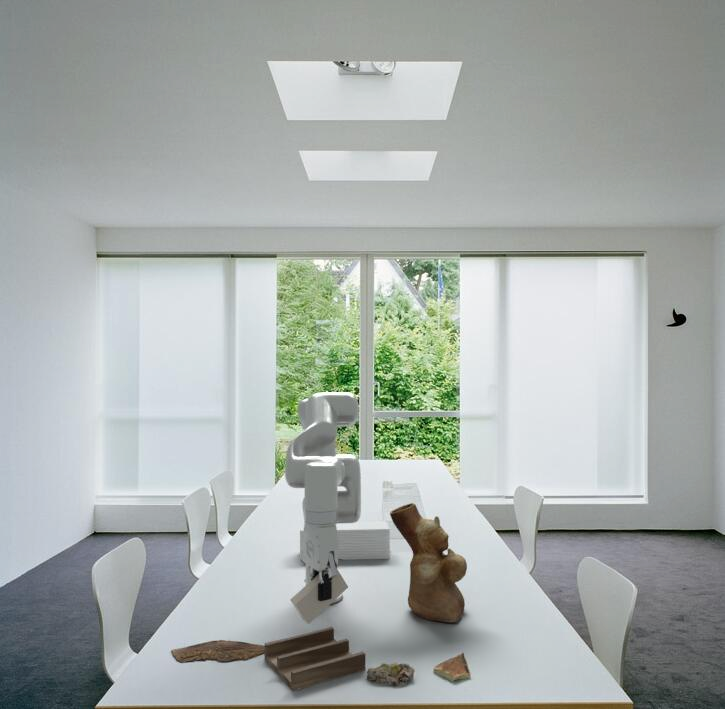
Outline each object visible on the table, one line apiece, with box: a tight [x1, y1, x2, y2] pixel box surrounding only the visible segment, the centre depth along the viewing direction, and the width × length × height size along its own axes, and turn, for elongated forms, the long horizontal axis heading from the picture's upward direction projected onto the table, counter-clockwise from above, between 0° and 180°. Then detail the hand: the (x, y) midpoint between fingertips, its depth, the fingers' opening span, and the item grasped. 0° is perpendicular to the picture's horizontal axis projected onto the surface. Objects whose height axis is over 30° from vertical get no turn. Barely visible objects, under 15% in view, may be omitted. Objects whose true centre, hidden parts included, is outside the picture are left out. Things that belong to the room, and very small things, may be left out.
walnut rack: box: [264, 626, 366, 691], centre depth 146 cm, size 17×18×4 cm
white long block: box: [299, 521, 391, 561], centre depth 229 cm, size 32×11×11 cm, turn 93°
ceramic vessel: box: [389, 502, 468, 623], centre depth 177 cm, size 16×22×30 cm
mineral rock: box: [366, 662, 415, 687], centre depth 140 cm, size 11×4×8 cm
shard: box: [432, 652, 471, 682], centre depth 143 cm, size 11×8×2 cm
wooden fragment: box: [170, 639, 265, 664], centre depth 153 cm, size 26×11×1 cm, turn 91°
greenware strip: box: [289, 566, 349, 625], centre depth 143 cm, size 3×12×6 cm
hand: (321, 596), depth 143 cm, fingers closed on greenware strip, 2 cm apart
